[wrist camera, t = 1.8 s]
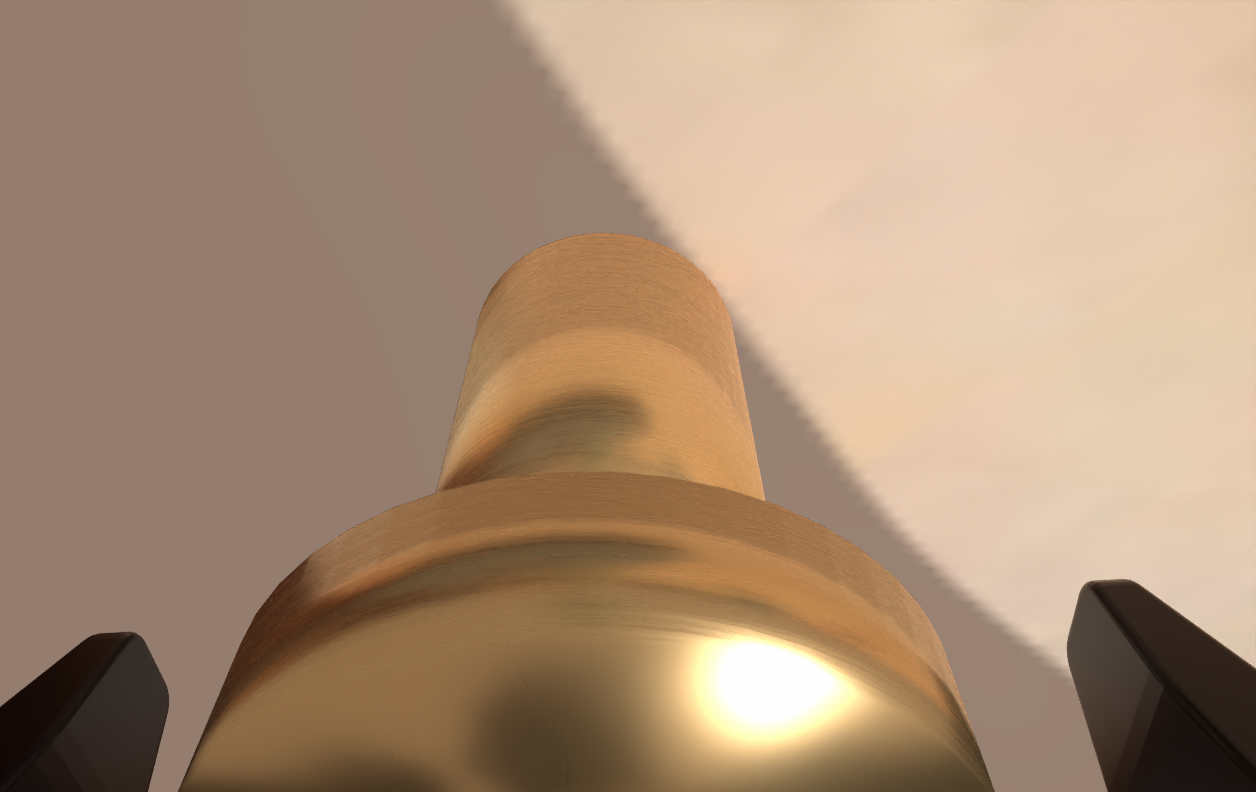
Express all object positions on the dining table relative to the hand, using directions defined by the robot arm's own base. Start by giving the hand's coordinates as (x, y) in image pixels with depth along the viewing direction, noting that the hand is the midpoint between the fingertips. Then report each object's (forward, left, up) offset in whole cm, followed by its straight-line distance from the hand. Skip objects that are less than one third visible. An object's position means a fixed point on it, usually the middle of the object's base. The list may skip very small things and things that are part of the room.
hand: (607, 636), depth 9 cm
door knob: (0, 0, -5) cm, 5 cm away
